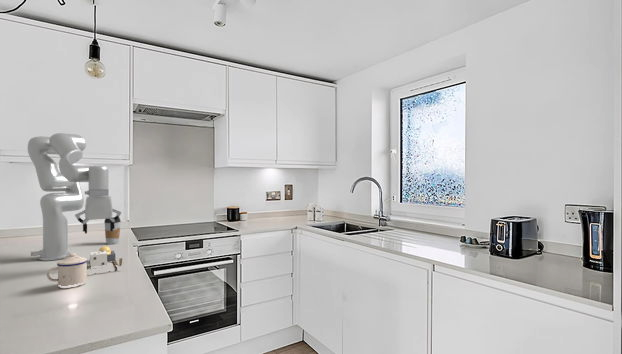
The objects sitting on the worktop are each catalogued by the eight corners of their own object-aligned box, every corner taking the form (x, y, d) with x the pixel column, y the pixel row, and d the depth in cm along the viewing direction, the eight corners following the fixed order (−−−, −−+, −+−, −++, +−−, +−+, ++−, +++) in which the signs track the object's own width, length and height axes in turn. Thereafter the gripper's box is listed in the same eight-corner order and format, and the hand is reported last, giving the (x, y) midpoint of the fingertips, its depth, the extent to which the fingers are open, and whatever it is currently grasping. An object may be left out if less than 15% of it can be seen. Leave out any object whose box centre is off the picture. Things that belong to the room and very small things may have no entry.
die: (90, 269, 143) (90, 255, 143) (90, 265, 148) (90, 252, 148) (107, 266, 146) (107, 253, 146) (105, 263, 151) (105, 250, 151)
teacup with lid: (86, 279, 128) (86, 249, 128) (88, 285, 121) (88, 254, 121) (46, 285, 121) (46, 254, 121) (46, 292, 114) (46, 259, 114)
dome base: (95, 263, 150) (95, 256, 150) (94, 260, 157) (94, 252, 157) (115, 261, 155) (115, 254, 155) (113, 257, 162) (113, 250, 162)
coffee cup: (115, 245, 190) (115, 219, 190) (100, 244, 190) (100, 219, 190) (123, 242, 198) (123, 217, 198) (110, 241, 198) (110, 217, 198)
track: (75, 277, 130) (75, 270, 130) (74, 266, 146) (74, 260, 146) (125, 270, 141) (125, 263, 141) (119, 260, 156) (119, 254, 156)
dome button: (98, 261, 153) (98, 248, 153) (98, 259, 157) (98, 246, 157) (111, 260, 156) (111, 246, 155) (110, 258, 160) (110, 244, 160)
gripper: (74, 194, 139) (75, 235, 139) (122, 193, 149) (122, 231, 149) (74, 193, 145) (75, 232, 145) (119, 192, 155) (120, 228, 155)
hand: (99, 231), depth 147 cm, fingers open, 9 cm apart
